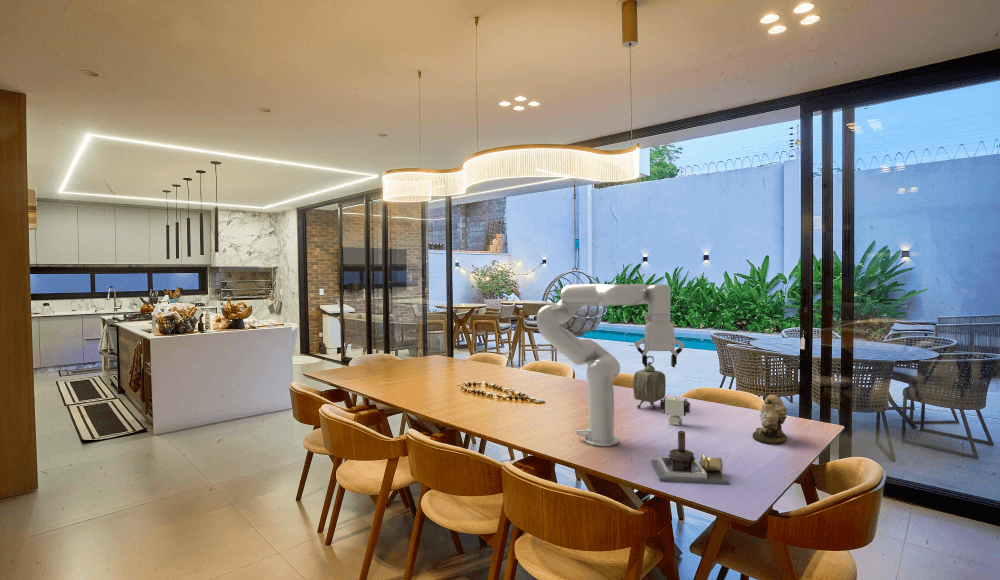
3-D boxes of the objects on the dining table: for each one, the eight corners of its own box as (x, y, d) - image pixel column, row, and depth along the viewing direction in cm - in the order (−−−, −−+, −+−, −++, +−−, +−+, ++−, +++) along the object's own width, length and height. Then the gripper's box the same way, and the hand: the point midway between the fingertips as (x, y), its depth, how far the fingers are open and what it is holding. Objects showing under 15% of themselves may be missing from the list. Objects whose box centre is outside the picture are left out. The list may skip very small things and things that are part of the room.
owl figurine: (754, 430, 206) (754, 388, 206) (787, 434, 200) (788, 392, 200) (751, 442, 190) (751, 397, 190) (787, 447, 184) (787, 400, 184)
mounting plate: (659, 481, 153) (659, 461, 153) (651, 462, 169) (650, 444, 169) (728, 484, 150) (728, 464, 150) (713, 465, 166) (713, 447, 166)
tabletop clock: (650, 403, 252) (650, 353, 252) (666, 407, 245) (666, 355, 245) (633, 408, 242) (633, 356, 242) (649, 412, 236) (649, 358, 235)
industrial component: (698, 468, 160) (698, 431, 160) (690, 475, 155) (690, 436, 155) (668, 462, 166) (668, 426, 166) (660, 468, 161) (660, 431, 161)
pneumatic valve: (688, 427, 210) (688, 398, 210) (660, 423, 216) (660, 395, 215) (690, 424, 215) (690, 396, 215) (662, 420, 220) (662, 393, 220)
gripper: (635, 319, 178) (635, 367, 178) (686, 319, 176) (686, 368, 176) (633, 318, 185) (633, 364, 186) (681, 318, 183) (681, 365, 183)
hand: (659, 366), depth 181 cm, fingers open, 9 cm apart
